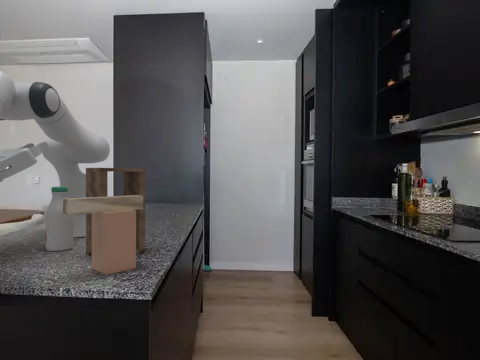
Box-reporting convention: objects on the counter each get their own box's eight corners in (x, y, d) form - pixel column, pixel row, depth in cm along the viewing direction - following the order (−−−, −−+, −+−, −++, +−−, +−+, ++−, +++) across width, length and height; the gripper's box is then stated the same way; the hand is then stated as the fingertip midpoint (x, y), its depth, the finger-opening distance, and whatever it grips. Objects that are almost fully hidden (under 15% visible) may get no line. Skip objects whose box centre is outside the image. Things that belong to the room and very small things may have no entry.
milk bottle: (78, 247, 109) (78, 186, 109) (57, 252, 102) (56, 187, 102) (62, 245, 113) (62, 186, 112) (40, 250, 106) (40, 186, 105)
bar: (63, 213, 79) (62, 198, 79) (136, 207, 93) (136, 195, 92) (68, 214, 76) (68, 199, 76) (143, 208, 90) (143, 195, 90)
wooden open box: (86, 254, 101) (85, 167, 100) (129, 246, 111) (129, 168, 110) (100, 260, 94) (100, 167, 93) (145, 252, 104) (145, 168, 103)
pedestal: (91, 268, 86) (91, 210, 86) (121, 262, 92) (121, 208, 92) (105, 275, 81) (105, 213, 80) (136, 268, 86) (136, 210, 86)
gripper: (-24, 163, 62) (47, 130, 70) (-42, 162, 75) (19, 135, 84) (-2, 192, 64) (64, 156, 73) (-23, 186, 78) (34, 157, 86)
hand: (40, 145), depth 78 cm, fingers open, 8 cm apart
